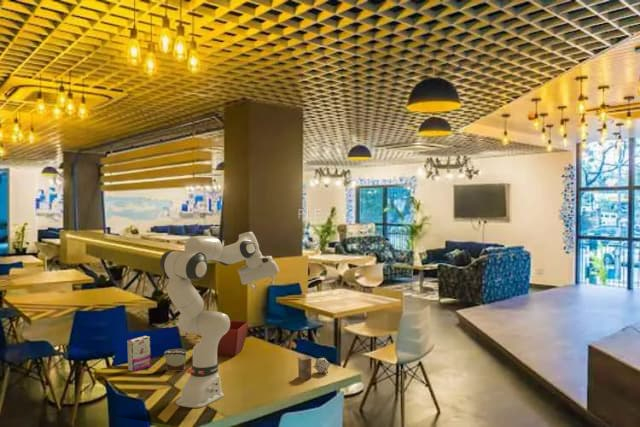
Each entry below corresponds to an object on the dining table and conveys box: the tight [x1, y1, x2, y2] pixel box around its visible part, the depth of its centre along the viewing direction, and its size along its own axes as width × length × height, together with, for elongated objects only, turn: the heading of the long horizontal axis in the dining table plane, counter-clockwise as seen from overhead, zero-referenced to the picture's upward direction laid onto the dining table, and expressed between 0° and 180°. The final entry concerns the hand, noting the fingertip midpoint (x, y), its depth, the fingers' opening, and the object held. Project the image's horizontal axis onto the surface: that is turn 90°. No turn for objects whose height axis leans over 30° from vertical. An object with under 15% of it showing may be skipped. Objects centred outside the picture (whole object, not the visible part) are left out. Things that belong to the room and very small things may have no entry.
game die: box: [312, 355, 332, 375], centre depth 262 cm, size 9×8×10 cm
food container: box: [163, 348, 188, 372], centre depth 271 cm, size 12×6×10 cm, turn 84°
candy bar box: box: [126, 335, 152, 373], centre depth 272 cm, size 11×5×16 cm, turn 143°
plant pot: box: [217, 320, 249, 357], centre depth 298 cm, size 19×19×17 cm
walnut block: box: [297, 355, 312, 381], centre depth 255 cm, size 5×5×10 cm
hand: (264, 287), depth 260 cm, fingers open, 8 cm apart
